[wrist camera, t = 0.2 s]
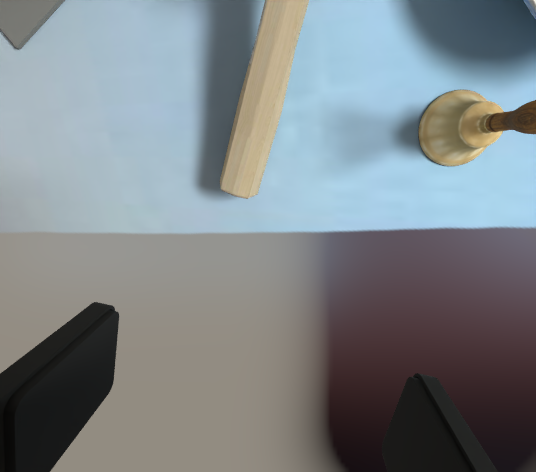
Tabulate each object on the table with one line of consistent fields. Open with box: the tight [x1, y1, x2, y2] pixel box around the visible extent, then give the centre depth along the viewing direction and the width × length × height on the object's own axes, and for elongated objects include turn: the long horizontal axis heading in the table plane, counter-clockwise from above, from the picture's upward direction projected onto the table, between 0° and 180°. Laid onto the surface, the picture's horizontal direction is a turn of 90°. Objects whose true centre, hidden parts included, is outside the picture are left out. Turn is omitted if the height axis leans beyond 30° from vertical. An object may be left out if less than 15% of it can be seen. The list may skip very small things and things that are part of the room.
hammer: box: [220, 0, 309, 199], centre depth 30 cm, size 16×5×30 cm
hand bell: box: [419, 90, 536, 166], centre depth 28 cm, size 8×8×16 cm
